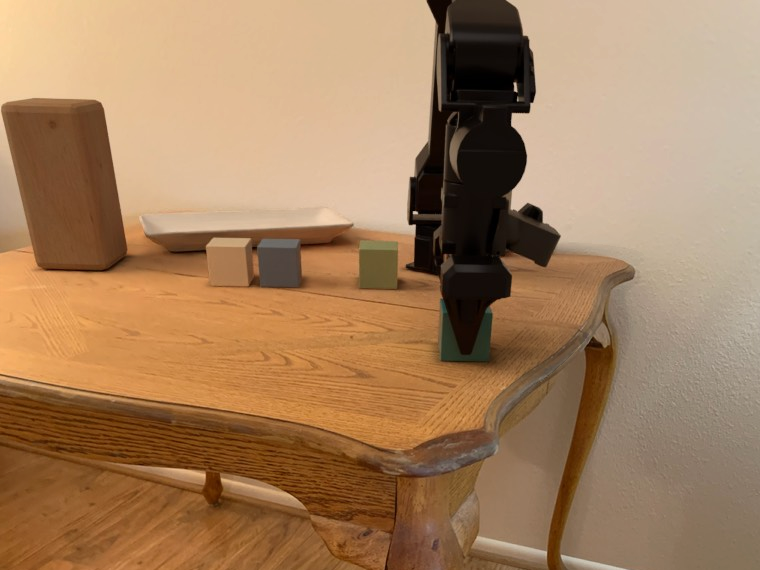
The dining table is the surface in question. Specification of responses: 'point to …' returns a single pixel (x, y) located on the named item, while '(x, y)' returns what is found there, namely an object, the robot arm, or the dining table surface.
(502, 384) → the dining table surface
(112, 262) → the wooden block
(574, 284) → the dining table surface
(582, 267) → the dining table surface
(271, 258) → the slate block
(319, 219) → the tray
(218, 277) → the cream block
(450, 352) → the teal block
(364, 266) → the sage block
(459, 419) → the dining table surface
